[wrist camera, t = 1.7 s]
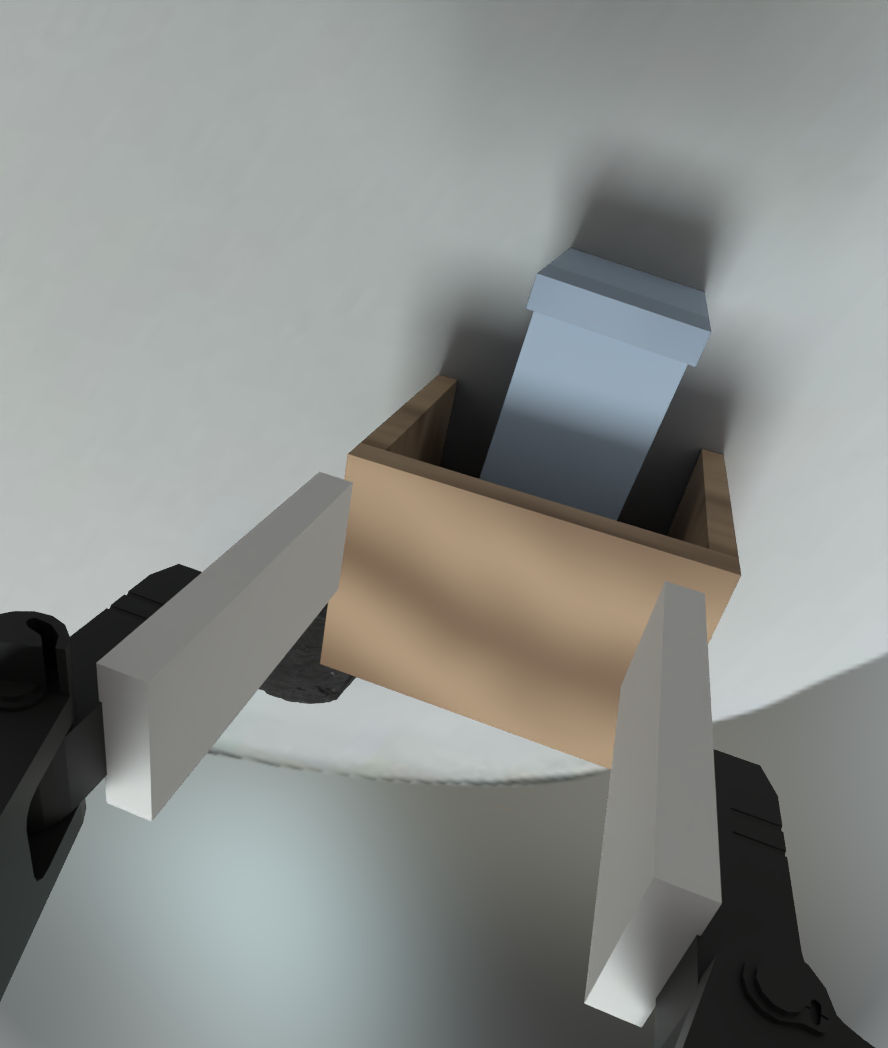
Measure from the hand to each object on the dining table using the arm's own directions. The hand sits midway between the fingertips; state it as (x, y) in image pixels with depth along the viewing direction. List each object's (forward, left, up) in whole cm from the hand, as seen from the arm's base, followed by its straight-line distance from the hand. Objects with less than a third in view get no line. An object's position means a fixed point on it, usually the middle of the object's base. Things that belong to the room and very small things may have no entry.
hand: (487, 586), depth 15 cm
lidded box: (+3, 0, -21) cm, 21 cm away
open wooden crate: (+8, 0, -21) cm, 22 cm away
